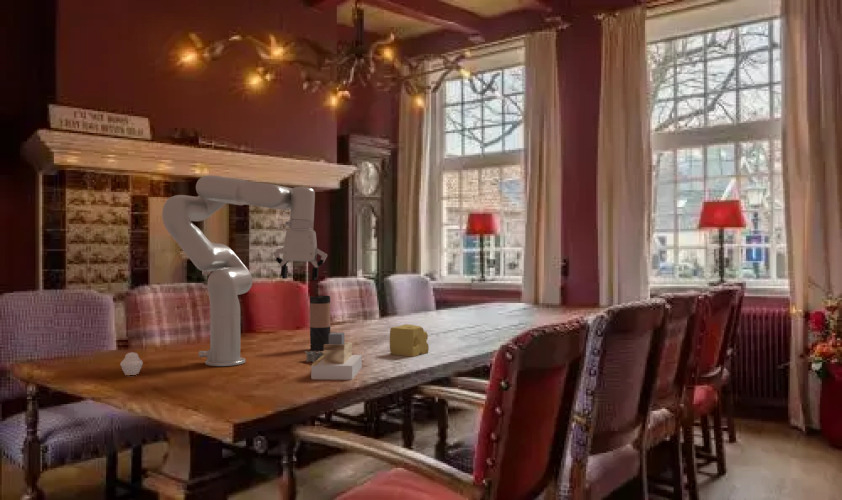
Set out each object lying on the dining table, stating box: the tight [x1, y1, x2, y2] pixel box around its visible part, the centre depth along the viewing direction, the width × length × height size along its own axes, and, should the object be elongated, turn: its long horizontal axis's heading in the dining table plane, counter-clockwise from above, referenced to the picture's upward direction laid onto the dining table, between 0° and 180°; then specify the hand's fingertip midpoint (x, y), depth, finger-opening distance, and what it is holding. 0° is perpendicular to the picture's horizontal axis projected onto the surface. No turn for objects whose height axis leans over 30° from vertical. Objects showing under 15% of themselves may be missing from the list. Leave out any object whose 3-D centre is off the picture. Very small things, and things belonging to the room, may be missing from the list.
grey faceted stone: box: [120, 351, 144, 376], centre depth 193 cm, size 6×6×7 cm
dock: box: [310, 354, 363, 381], centre depth 197 cm, size 12×19×4 cm, turn 177°
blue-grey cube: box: [329, 332, 345, 345], centre depth 198 cm, size 4×4×4 cm
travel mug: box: [309, 295, 331, 352], centre depth 243 cm, size 8×8×20 cm
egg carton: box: [304, 350, 324, 364], centre depth 217 cm, size 11×8×4 cm
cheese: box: [389, 323, 430, 358], centre depth 233 cm, size 10×11×10 cm
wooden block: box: [323, 342, 353, 364], centre depth 198 cm, size 6×15×6 cm, turn 177°
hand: (299, 279), depth 207 cm, fingers open, 9 cm apart
